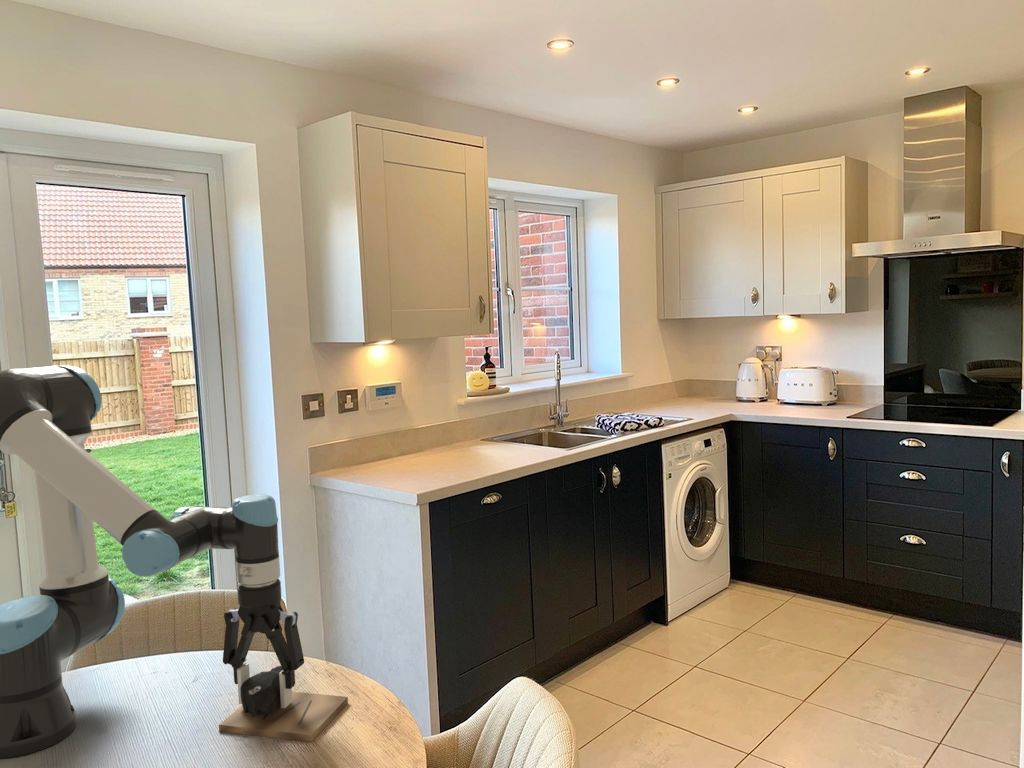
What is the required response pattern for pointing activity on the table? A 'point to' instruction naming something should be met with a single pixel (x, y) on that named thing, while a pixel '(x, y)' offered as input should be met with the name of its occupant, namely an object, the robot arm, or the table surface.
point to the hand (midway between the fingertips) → (265, 702)
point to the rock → (262, 693)
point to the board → (289, 718)
